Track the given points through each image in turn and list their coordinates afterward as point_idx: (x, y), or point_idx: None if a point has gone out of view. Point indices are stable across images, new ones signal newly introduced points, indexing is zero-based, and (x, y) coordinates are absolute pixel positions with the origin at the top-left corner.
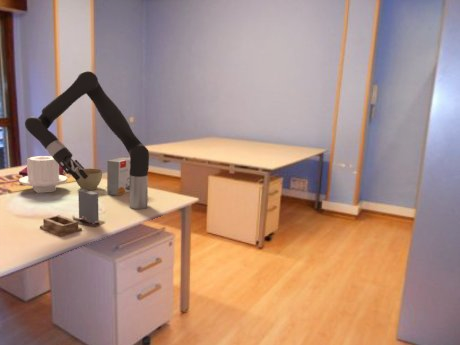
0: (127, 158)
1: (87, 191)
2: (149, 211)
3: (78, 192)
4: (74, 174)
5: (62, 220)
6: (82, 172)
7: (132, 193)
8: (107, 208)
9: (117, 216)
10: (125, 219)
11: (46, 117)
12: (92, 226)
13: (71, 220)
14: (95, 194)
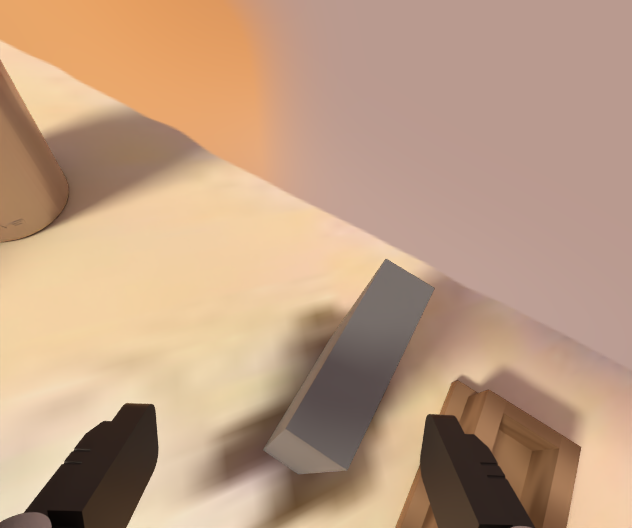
0: None
1: (355, 361)
2: (112, 144)
3: (343, 469)
4: (512, 500)
5: None
6: (101, 513)
7: (6, 154)
8: (33, 368)
9: (210, 271)
10: (255, 227)
11: None
12: None
13: (485, 438)
14: (407, 274)
